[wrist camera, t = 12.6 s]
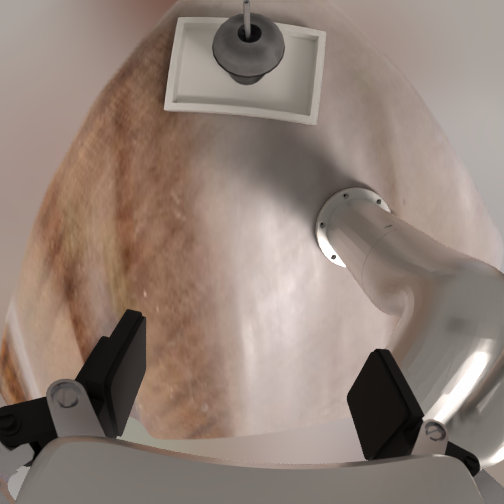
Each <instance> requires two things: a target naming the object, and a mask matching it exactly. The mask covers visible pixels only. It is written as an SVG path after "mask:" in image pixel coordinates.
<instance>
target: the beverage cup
mask: <svg viewBox="0 0 504 504" xmlns="http://www.w3.org/2000/svg"><path fill="white" fill-rule="evenodd" d="M243 11H244V14H239V15H236V16H234V17H231V18H229V19H228V20H227V21H225V22H224V23H223V24H222V25H221V26H220V27H219V29H218V30H217V32H216V34H215V36H214V40H213V44H212V50H213V56H214V58H215V60H216V61H217V63H218V65H219V66H220V67H222V68H223V69H224V70H225V71H226V72H228V73H229V75H230V76H231V78H232V79H234V80H235V81H236V82H237V83H239V84H241V85H253V84H255V83H257V82H258V81H259V80H261V79H262V78H263V77H264V75H265V74H267V73H270V72H271V71H272V70H273V69H275V68H276V67H277V66H278V65H279V63H280V62H281V60H282V58H283V56H284V51H285V44H284V39H283V35H282V33H281V31H280V29H279V28H278V26H277V25H276V24H275V23H274V22H272V21H271V20H270V19H269V18H266V17H264V16H262V15H259V14H252V13H250V1H249V0H244V1H243Z"/></svg>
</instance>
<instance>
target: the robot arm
mask: <svg viewBox="0 0 504 504" xmlns="http://www.w3.org/2000/svg"><path fill="white" fill-rule="evenodd" d="M344 194H345V196H344V197H343V195H344ZM377 199H378V201H377ZM376 201H377V202H376ZM321 222H322V223H323V224H322V225H320V223H321ZM315 233H316V239H317V242H318V245H319V247H320V249H321V251H322V252H323V254H324V255H325V256H326V257H327V258H328V259H329V260H330V261H331V262H333V263H335V264H337V265H339V266H343V267H347V269H348V270H349V271H350V273H351V274H352V276H353V277H354V278H355V280H356V281H357V282H358V284H359V285H360V287H361V288H362V289H363V291H364V292H365V294H366V295H367V296H368V298H369V299H370V300H371V302H372V303H373V304H374V305H375V306H376V307H377V308H378V309H379V310H380V311H382V312H384V313H386V314H388V315H391V316H395V317H401V318H400V321H399V323H398V325H397V327H396V329H395V331H394V332H393V334H392V337H391V339H390V341H389V343H388V345H387V346H386V348H385V349H375V350H374V352H371V353H370V355H369V357H368V359H367V360H366V362H365V364H364V366H363V368H362V370H361V372H360V373H359V375H358V377H357V379H356V380H355V382H354V384H353V386H352V387H351V389H350V391H349V392H348V395H347V402H348V405H349V409H350V412H351V415H352V418H353V421H354V424H355V428H356V431H357V434H358V437H359V440H360V444H361V447H362V451H363V454H364V457H365V459H366V460H368V461H361V462H348V463H331V464H273V463H255V462H243V461H233V460H225V459H217V458H210V457H203V456H197V455H191V454H185V453H180V452H174V451H169V450H164V449H159V448H155V447H151V446H146V445H142V444H137V443H133V442H128V441H124V440H119V439H116V437H117V436H120V437H121V436H122V434H123V431H124V429H125V426H126V423H127V420H128V417H129V414H130V412H131V409H132V406H133V403H134V401H135V398H136V395H137V393H138V390H139V387H140V385H141V382H142V380H143V377H144V374H145V370H146V317H143V316H142V313H141V312H138V311H134V310H130V309H127V310H126V312H125V313H124V315H123V317H122V318H121V320H120V321H119V323H118V325H117V326H116V328H115V329H114V331H113V333H112V334H111V336H110V337H106V336H103V337H101V338H100V340H99V341H98V343H97V345H96V346H95V348H94V349H93V351H92V352H91V354H90V356H89V357H88V359H87V360H86V362H85V364H84V365H83V367H82V369H81V370H80V372H79V374H78V375H77V377H76V379H75V380H71V379H60V380H57V381H55V382H53V383H52V384H51V385H50V386H49V387H48V389H47V392H46V397H42V398H38V399H34V400H30V401H26V402H22V403H17V404H13V405H9V406H4V407H1V408H0V504H504V488H503V486H502V485H500V484H499V483H498V482H497V481H496V480H494V478H492V477H491V476H490V475H489V474H488V473H487V472H486V471H485V470H484V469H482V470H481V471H480V468H485V467H489V466H492V465H494V464H497V463H498V462H500V461H501V460H503V459H504V274H503V273H502V272H501V271H499V270H498V269H497V268H495V267H493V266H491V265H490V264H488V263H486V262H484V261H481V260H479V259H476V258H474V257H471V256H469V255H466V254H464V253H461V252H458V251H456V250H454V249H452V248H450V247H447V246H446V245H444V244H442V243H440V242H438V241H436V240H435V239H433V238H431V237H430V236H428V235H426V234H425V233H423V232H422V231H420V230H418V229H417V228H415V227H413V226H412V225H410V224H408V223H407V222H405V221H403V220H402V219H400V218H398V217H397V216H395V215H393V214H391V212H390V210H389V207H388V205H387V204H386V202H385V201H384V200H383V199H382V198H381V197H380V196H379V195H378V194H376V193H375V192H373V191H371V190H368V189H365V188H360V187H352V188H347V189H344V190H341V191H339V192H337V193H336V194H334V195H333V196H331V197H330V198H329V199H328V200H327V201H326V202H325V204H324V205H323V207H322V208H321V210H320V212H319V215H318V217H317V221H316V230H315ZM333 254H334V255H333ZM332 255H333V256H332ZM21 466H26V467H28V466H31V467H30V469H29V471H28V473H27V475H26V477H25V479H24V482H23V484H22V486H21V489H20V491H19V494H18V496H17V499H16V501H15V500H14V499H13V497H12V496H11V495H10V492H9V491H8V486H7V483H8V480H9V478H10V477H11V476H12V475H14V474H15V473H17V469H18V468H20V467H21Z"/></svg>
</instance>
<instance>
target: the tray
mask: <svg viewBox="0 0 504 504" xmlns="http://www.w3.org/2000/svg"><path fill="white" fill-rule="evenodd" d="M228 19H229V18H220V17H178V22H177V27H176V32H175V37H174V43H173V49H172V54H171V61H170V67H169V74H168V81H167V88H166V96H165V104H164V110H166V111H169V112H193V113H211V114H225V115H236V116H247V117H256V118H264V119H272V120H279V121H286V122H293V123H299V124H305V125H311V126H312V125H317V118H318V110H319V102H320V93H321V84H322V75H323V65H324V55H325V44H326V32H324V31H320V30H315V29H311V28H305V27H300V26H295V25H289V24H282V23H275V22H274V23H275V24H276V25H277V26H278V28H279V29H280V31H281V33H282V35H283V39H284V44H285V51H284V56H283V58H282V60H281V62H280V63H279V65H278V66H277V67H276V68H275V69H273V70H272V71H271V72H270V73H267V74H265V75H264V77H263V78H262V79H261V80H259V81H258V82H257V83H255V84H253V85H241V84H239V83H237V82H236V81H235V80H234V79H232V78H231V76H230V75H229V73H228V72H226V71H225V70H224V69H223V68H222V67H220V66H219V65H218V63H217V61H216V60H215V58H214V56H213V50H212V44H213V40H214V36H215V34H216V32H217V30H218V29H219V27H220V26H221V25H222V24H223V23H224V22H225V21H227V20H228Z"/></svg>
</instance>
